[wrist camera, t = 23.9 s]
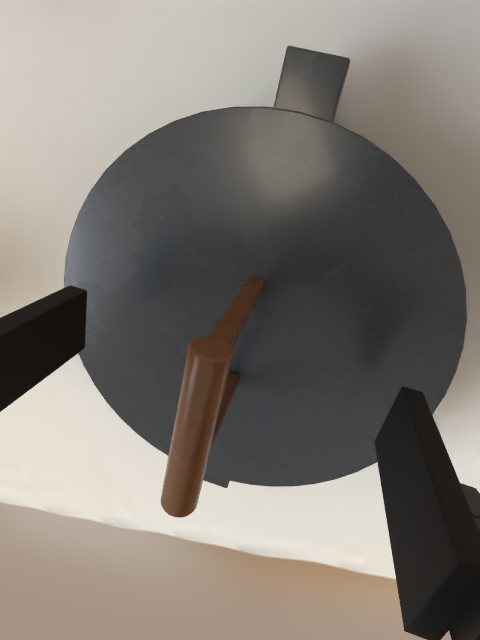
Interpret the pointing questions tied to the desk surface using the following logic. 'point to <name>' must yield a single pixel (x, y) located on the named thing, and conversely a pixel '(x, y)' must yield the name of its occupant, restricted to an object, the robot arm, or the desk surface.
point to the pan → (307, 101)
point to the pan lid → (263, 296)
